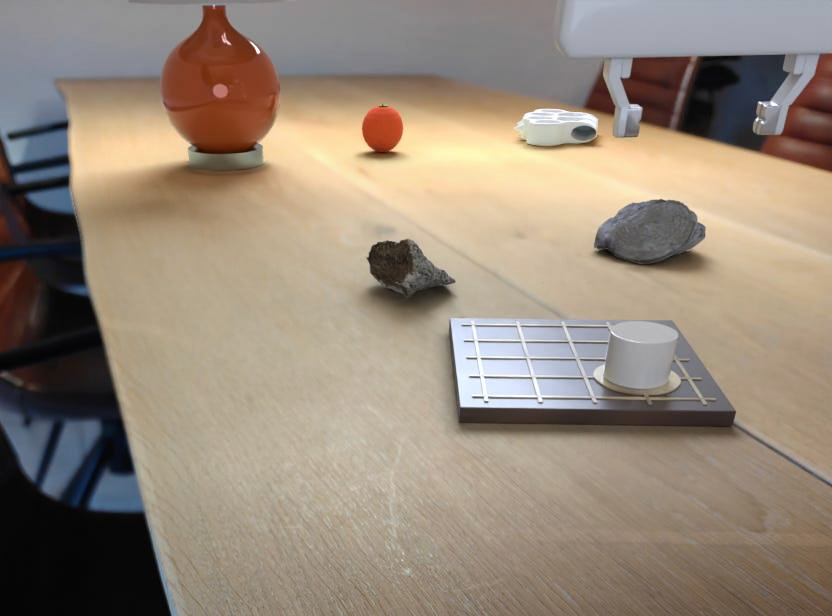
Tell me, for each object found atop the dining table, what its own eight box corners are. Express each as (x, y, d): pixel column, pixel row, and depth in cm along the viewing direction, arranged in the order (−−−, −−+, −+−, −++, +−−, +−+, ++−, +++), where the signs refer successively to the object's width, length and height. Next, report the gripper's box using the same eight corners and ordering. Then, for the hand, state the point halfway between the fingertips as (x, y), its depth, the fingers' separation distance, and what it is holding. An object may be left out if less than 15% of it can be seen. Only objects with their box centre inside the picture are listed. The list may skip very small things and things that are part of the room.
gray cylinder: (661, 365, 72) (670, 321, 70) (675, 389, 68) (685, 343, 66) (597, 364, 73) (605, 320, 70) (608, 388, 69) (616, 342, 67)
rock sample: (491, 251, 90) (428, 192, 85) (460, 317, 89) (394, 261, 84) (430, 275, 99) (370, 222, 94) (401, 335, 98) (339, 285, 93)
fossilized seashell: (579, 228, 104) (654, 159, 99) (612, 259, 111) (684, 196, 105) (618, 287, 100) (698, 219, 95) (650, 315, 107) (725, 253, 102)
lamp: (120, 173, 141) (72, -158, 117) (191, 146, 159) (162, -145, 136) (267, 183, 134) (247, -166, 111) (323, 153, 153) (317, -151, 129)
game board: (669, 333, 82) (673, 318, 81) (732, 426, 66) (737, 409, 66) (448, 330, 83) (449, 316, 82) (458, 422, 67) (460, 405, 66)
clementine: (362, 147, 158) (362, 99, 153) (402, 147, 158) (403, 99, 153) (361, 155, 152) (361, 106, 147) (402, 155, 151) (404, 106, 147)
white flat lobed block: (595, 147, 156) (509, 144, 159) (596, 130, 170) (518, 128, 173) (598, 125, 154) (511, 122, 157) (599, 110, 168) (520, 108, 171)
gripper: (572, -131, 51) (546, 146, 59) (948, -143, 50) (866, 140, 58) (558, -125, 56) (535, 129, 64) (899, -136, 55) (830, 124, 63)
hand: (695, 135), depth 61 cm, fingers open, 8 cm apart
